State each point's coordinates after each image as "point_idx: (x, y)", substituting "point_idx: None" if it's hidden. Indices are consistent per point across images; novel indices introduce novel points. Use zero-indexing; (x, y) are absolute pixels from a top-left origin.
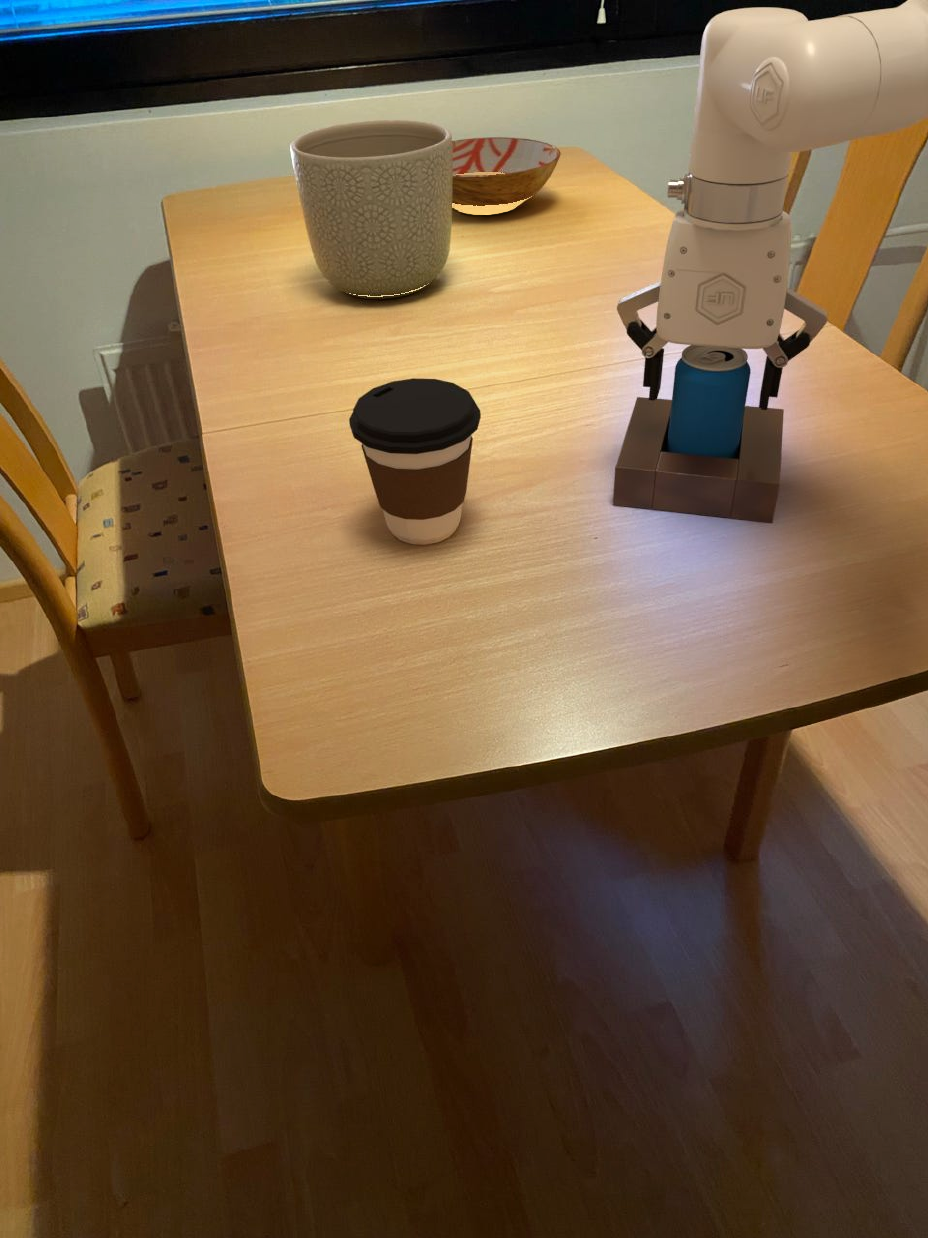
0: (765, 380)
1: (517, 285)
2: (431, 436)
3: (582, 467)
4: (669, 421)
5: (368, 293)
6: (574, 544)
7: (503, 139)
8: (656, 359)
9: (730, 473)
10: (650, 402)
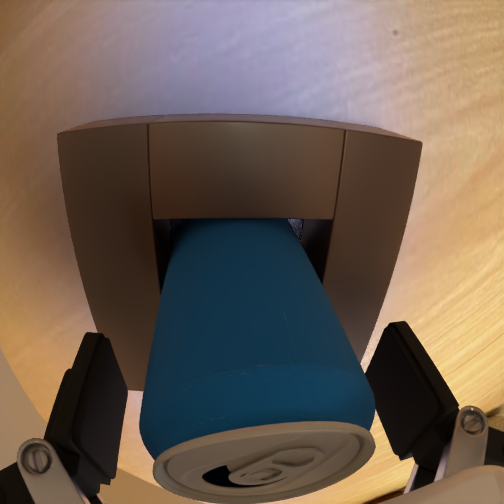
0: (80, 404)
1: (390, 469)
2: None
3: (414, 235)
4: None
5: (489, 420)
6: (420, 20)
7: None
8: (448, 410)
9: (164, 148)
10: None
